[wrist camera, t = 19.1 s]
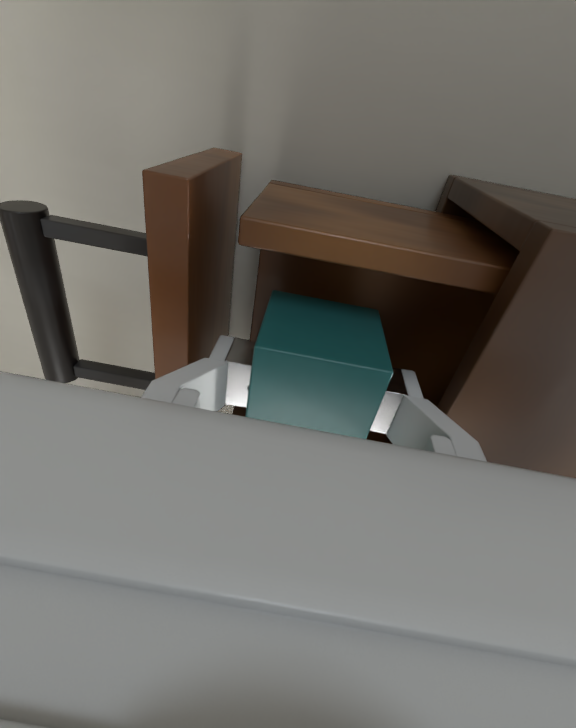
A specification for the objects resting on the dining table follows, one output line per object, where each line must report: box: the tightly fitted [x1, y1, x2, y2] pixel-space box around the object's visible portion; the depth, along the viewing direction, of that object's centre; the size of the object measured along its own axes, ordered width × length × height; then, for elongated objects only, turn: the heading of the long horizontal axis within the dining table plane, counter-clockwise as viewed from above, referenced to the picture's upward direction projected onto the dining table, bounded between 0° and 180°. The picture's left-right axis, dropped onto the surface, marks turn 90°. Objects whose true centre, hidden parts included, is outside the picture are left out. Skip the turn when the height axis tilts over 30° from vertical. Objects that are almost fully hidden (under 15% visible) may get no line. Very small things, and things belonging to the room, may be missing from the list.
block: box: [245, 290, 393, 439], centre depth 13 cm, size 4×4×4 cm
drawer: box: [0, 148, 520, 444], centre depth 15 cm, size 21×11×7 cm, turn 81°
